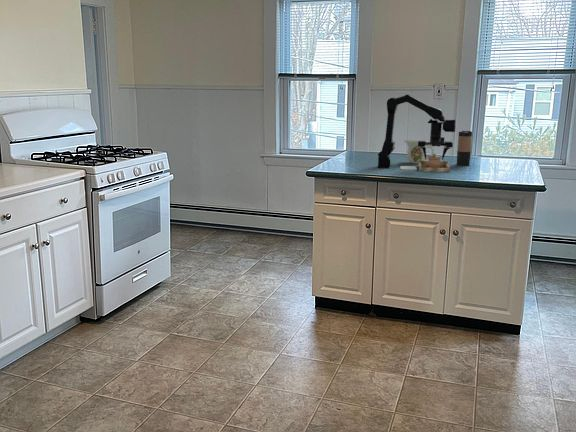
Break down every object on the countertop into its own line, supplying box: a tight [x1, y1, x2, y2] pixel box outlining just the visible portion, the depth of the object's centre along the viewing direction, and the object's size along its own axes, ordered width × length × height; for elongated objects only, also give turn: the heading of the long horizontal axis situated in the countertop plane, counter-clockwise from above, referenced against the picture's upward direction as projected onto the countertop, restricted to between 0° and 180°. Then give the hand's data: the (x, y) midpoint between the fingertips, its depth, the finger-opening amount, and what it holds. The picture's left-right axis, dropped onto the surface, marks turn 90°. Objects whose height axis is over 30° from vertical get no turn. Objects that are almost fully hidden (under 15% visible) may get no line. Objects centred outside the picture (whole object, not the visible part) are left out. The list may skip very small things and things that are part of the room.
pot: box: [428, 153, 442, 168], centre depth 319 cm, size 7×7×9 cm
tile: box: [399, 165, 418, 171], centre depth 323 cm, size 9×9×1 cm
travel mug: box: [456, 130, 473, 167], centre depth 332 cm, size 8×8×20 cm
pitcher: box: [403, 139, 435, 165], centre depth 340 cm, size 11×18×14 cm, turn 81°
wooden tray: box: [417, 160, 451, 173], centre depth 320 cm, size 16×16×4 cm
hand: (434, 159), depth 319 cm, fingers open, 9 cm apart
